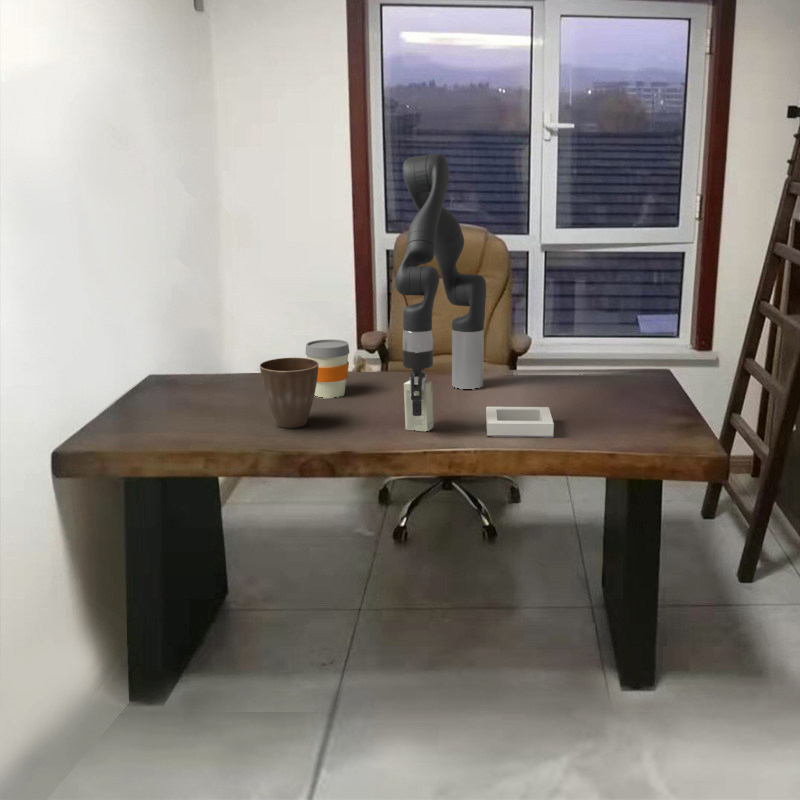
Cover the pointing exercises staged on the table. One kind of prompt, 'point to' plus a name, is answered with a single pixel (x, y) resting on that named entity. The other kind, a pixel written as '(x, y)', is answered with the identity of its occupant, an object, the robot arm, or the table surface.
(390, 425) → the table surface
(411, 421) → the skincare box
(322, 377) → the reusable coffee cup
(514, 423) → the holder
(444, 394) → the table surface
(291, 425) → the plant pot
